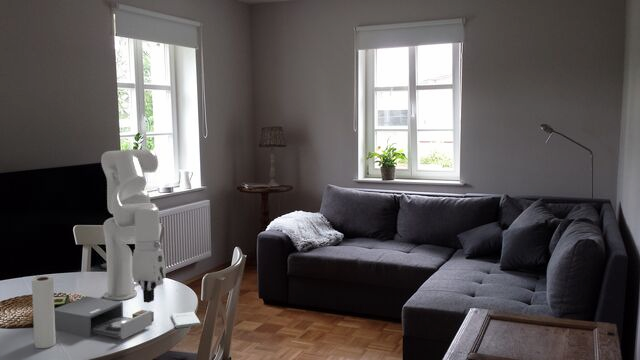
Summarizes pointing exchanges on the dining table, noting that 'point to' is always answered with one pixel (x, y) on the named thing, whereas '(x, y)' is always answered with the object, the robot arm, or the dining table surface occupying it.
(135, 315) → the pedestal
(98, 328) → the tray
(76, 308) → the grey drawer box
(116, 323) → the disc
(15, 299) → the dining table surface
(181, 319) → the external hard drive
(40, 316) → the paper towel roll
